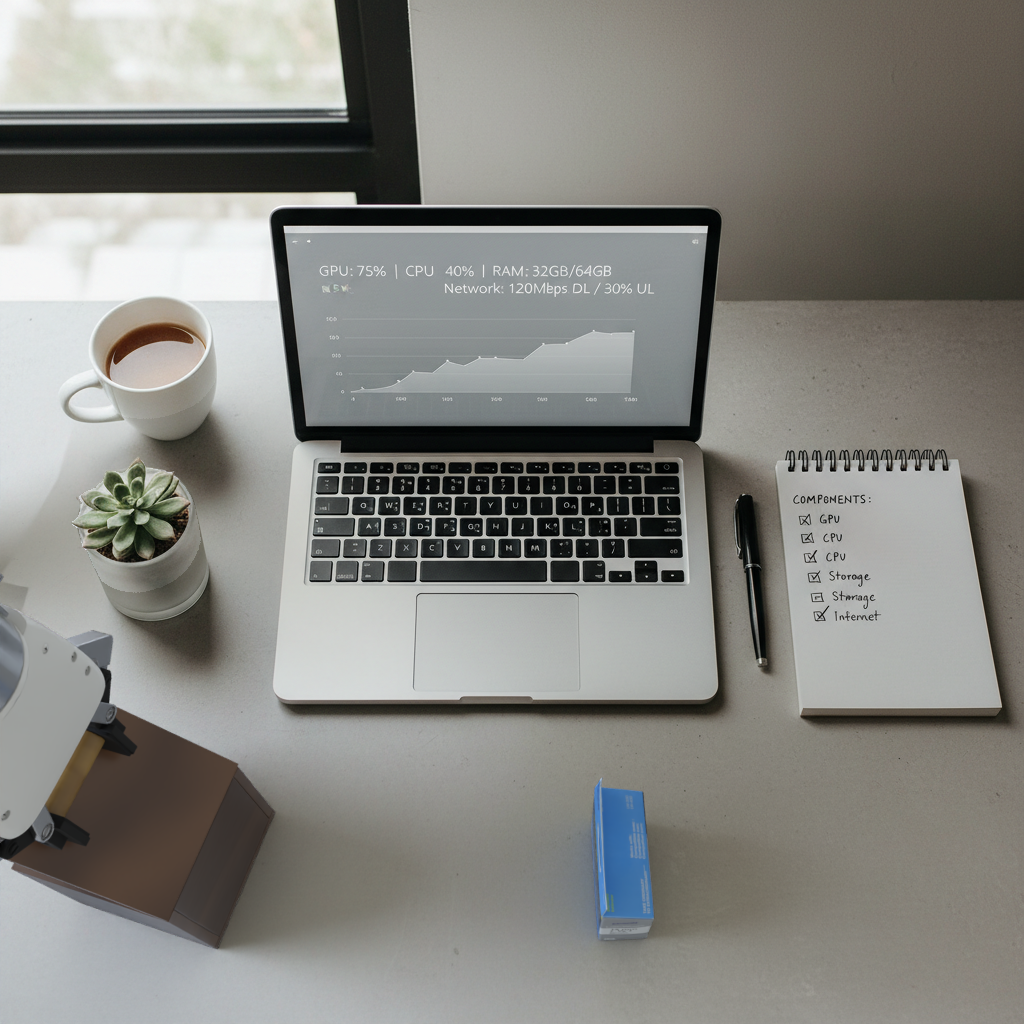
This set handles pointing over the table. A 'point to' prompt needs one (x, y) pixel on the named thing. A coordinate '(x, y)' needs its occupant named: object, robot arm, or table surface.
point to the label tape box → (621, 864)
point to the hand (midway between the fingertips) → (90, 788)
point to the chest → (200, 870)
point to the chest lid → (134, 816)
